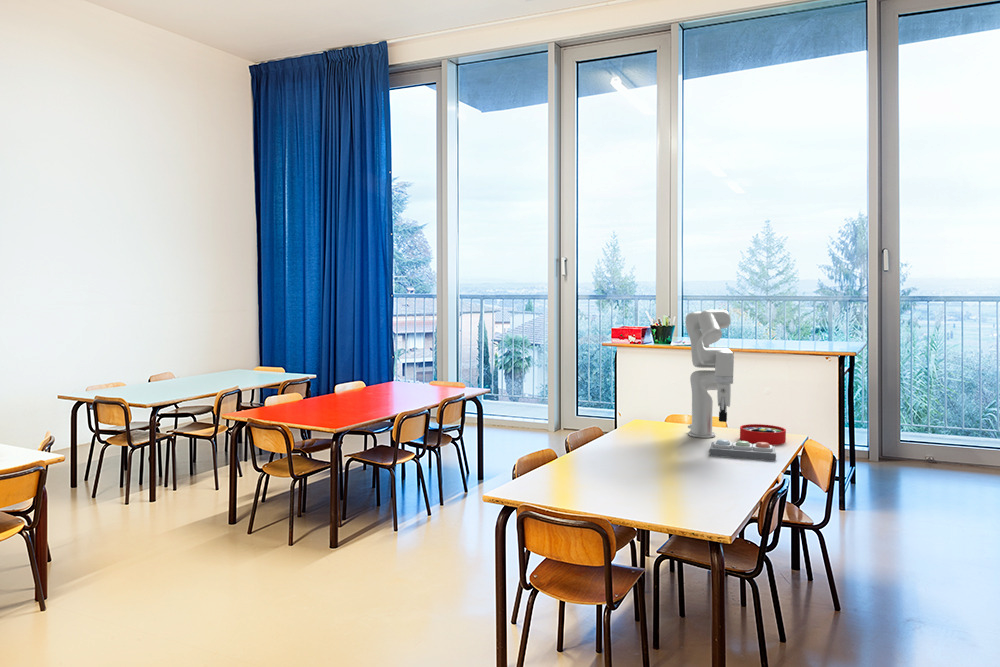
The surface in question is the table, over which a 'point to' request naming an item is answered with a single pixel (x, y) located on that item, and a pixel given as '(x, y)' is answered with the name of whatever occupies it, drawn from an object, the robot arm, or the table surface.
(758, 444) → the brick button
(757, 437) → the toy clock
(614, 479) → the table surface
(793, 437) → the table surface
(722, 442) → the blue grey button
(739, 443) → the sage button
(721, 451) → the console
